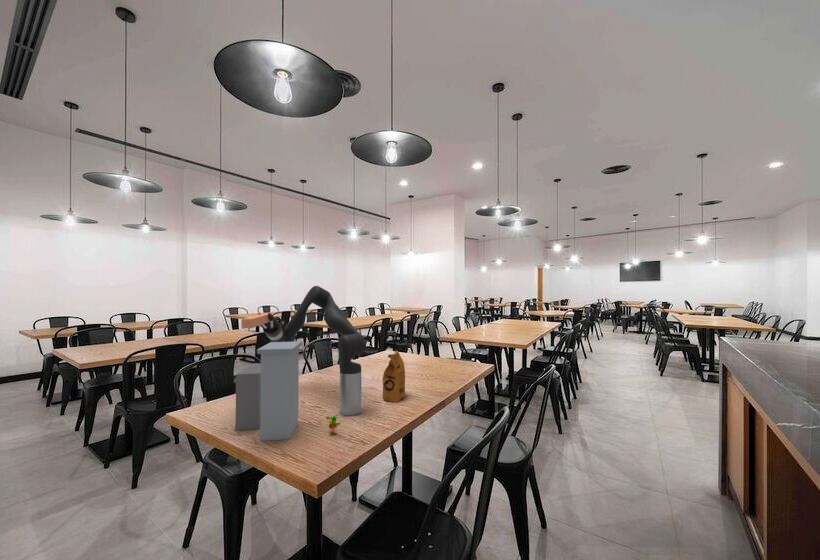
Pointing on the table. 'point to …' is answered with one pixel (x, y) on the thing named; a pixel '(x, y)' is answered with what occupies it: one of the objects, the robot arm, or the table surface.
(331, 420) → the toy character
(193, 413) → the table surface
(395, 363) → the coffee package
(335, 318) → the robot arm
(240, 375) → the shelf
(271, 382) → the pedestal
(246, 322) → the bar
